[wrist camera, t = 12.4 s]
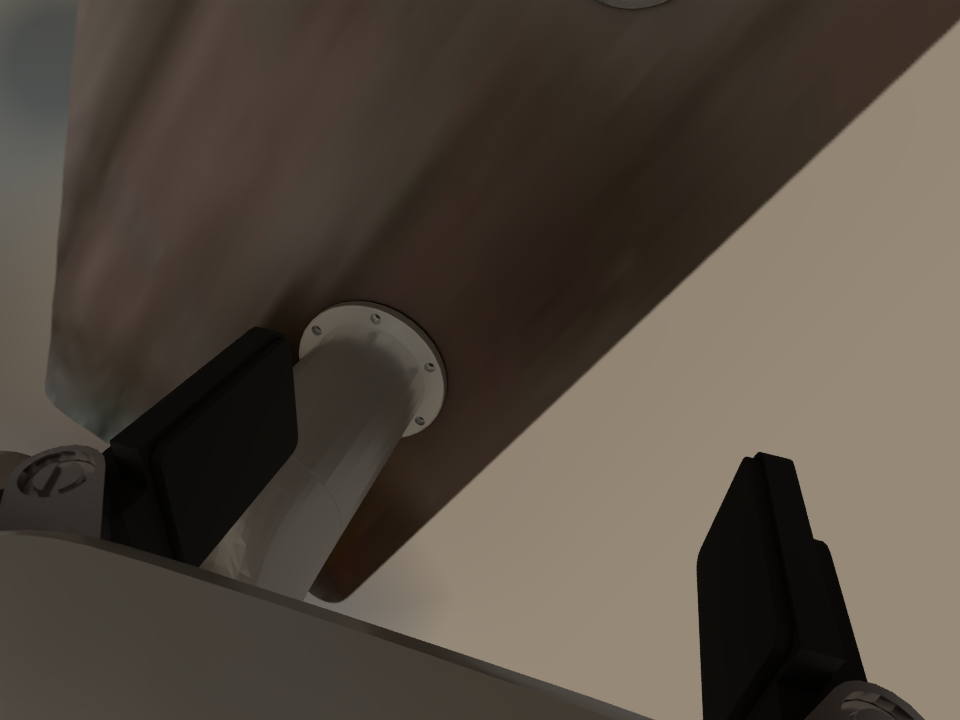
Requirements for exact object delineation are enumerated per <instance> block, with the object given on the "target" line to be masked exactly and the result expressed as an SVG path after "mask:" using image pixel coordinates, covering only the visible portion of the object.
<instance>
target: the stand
mask: <svg viewBox="0 0 960 720" xmlns="http://www.w3.org/2000/svg"><path fill="white" fill-rule="evenodd" d="M598 1H600V2H602V3H604V4H607V5H610V6H613V7H619V8H629V9H637V8H644V7H650V6H654V5H657V4H661V3H663V2H665V1H668V0H598Z"/></svg>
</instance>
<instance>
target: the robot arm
mask: <svg viewBox="0 0 960 720" xmlns="http://www.w3.org/2000/svg"><path fill="white" fill-rule="evenodd" d="M446 391H447V378H446V370H445V367H444V364H443V361H442V358H441V356H440V354H439V352H438V351H437V349H436V347H435V345H434V344H433V342H432V341H431V340H430V339H429V337H428V336H427V335H426V334H425V332H424V331H423V330H422V329H420V328H419V327H418V326H417V325H416V324H415V323H414V322H413V321H411V320H410V319H408V318H407V317H405V316H404V315H402V314H401V313H399V312H397V311H395V310H393V309H391V308H388V307H386V306H383V305H380V304H376V303H372V302H364V301H349V302H342V303H339V304H336V305H333V306H330V307H329V308H327V309H325V310H324V311H322V312H321V313H319V314H318V315H317V316H316V317H315V318H314V319H313V320H312V321H311V322H310V323H309V325H308V326H307V328H306V329H305V330H304V333H303V335H302V338H301V341H300V347H299V362H298V363H297V364H296V365H295V366H294V367H293V362H292V349H291V344H290V343H289V342H288V341H285V337H284V335H283V334H282V333H280V332H277V331H273V330H269V329H265V328H261V327H253V328H252V329H250V330H249V331H247V332H246V333H245V334H244V335H242V336H241V337H240V338H239V339H237V340H236V341H235V342H234V343H232V344H231V345H230V346H229V347H227V348H226V349H225V350H224V351H222V352H221V353H220V354H219V355H217V356H216V357H215V358H213V359H212V360H211V361H210V362H208V363H207V364H206V365H205V366H203V367H202V368H201V369H200V370H198V371H197V372H196V373H195V374H193V375H192V376H191V377H190V378H188V379H187V380H186V381H184V382H183V383H182V384H181V385H179V386H178V387H177V388H176V389H174V390H173V391H172V392H171V393H169V394H168V395H167V396H166V397H164V398H163V399H162V400H161V401H159V402H158V403H157V404H155V405H154V406H153V407H152V408H150V409H149V410H148V411H147V412H145V413H144V414H143V415H142V416H140V417H139V418H138V419H137V420H135V421H134V422H133V423H132V424H130V425H129V426H128V427H127V428H125V429H124V430H123V431H121V432H120V433H119V434H118V435H116V436H115V437H114V438H113V439H111V440H110V444H111V446H110V447H109V448H108V449H106V450H105V451H104V452H103V453H100V452H99V451H98V450H97V449H94V448H91V447H89V446H82V445H68V446H60V447H56V448H52V449H48V450H45V451H43V452H40V453H38V454H36V455H34V456H29V455H26V454H22V453H18V452H11V451H0V720H653V719H651V718H648V717H645V716H642V715H640V714H637V713H634V712H631V711H628V710H625V709H623V708H620V707H617V706H614V705H612V704H609V703H606V702H603V701H600V700H597V699H594V698H592V697H589V696H586V695H582V694H580V693H577V692H574V691H571V690H568V689H565V688H562V687H559V686H556V685H553V684H550V683H547V682H544V681H541V680H538V679H535V678H532V677H529V676H526V675H523V674H520V673H517V672H514V671H511V670H508V669H505V668H502V667H500V666H496V665H494V664H490V663H488V662H485V661H482V660H478V659H476V658H472V657H469V656H467V655H464V654H461V653H458V652H455V651H452V650H448V649H446V648H443V647H440V646H437V645H434V644H431V643H427V642H425V641H421V640H418V639H416V638H412V637H409V636H406V635H403V634H400V633H397V632H394V631H391V630H388V629H385V628H382V627H379V626H376V625H373V624H370V623H367V622H364V621H361V620H358V619H355V618H352V617H349V616H346V615H343V614H339V613H337V612H334V611H331V610H328V609H325V608H321V607H318V606H315V605H312V604H309V603H306V602H303V600H304V598H305V596H306V594H307V592H308V591H309V589H310V587H311V585H312V584H313V582H314V580H315V578H316V577H317V575H318V573H319V572H320V570H321V568H322V567H323V565H324V563H325V562H326V560H327V558H328V557H329V555H330V553H331V552H332V550H333V548H334V547H335V545H336V543H337V542H338V540H339V538H340V537H341V535H342V533H343V532H344V530H345V528H346V527H347V525H348V524H349V522H350V520H351V519H352V517H353V515H354V514H355V512H356V510H357V509H358V507H359V506H360V504H361V502H362V501H363V499H364V497H365V496H366V494H367V492H368V491H369V489H370V488H371V486H372V484H373V483H374V481H375V479H376V478H377V476H378V474H379V473H380V471H381V470H382V468H383V466H384V465H385V463H386V461H387V460H388V458H389V456H390V455H391V453H392V452H393V450H394V448H395V447H396V445H397V443H398V442H399V440H400V438H402V437H407V436H411V435H413V434H416V433H418V432H420V431H422V430H423V429H425V428H426V427H427V426H429V425H430V424H431V423H432V421H433V420H434V419H435V418H436V417H437V415H438V413H439V411H440V409H441V408H442V406H443V403H444V400H445V397H446ZM697 591H698V612H699V634H700V658H701V681H702V703H703V720H925V719H924V718H923V717H922V716H921V715H920V714H919V713H918V712H917V711H915V709H913V707H912V706H911V705H909V704H908V703H907V702H905V701H904V700H903V699H901V698H899V697H898V696H897V695H896V694H894V693H893V692H891V691H889V690H887V689H884V688H883V687H880V686H878V685H876V684H873V683H869V682H867V679H866V675H865V672H864V668H863V665H862V662H861V658H860V654H859V651H858V648H857V644H856V640H855V637H854V633H853V630H852V626H851V623H850V619H849V616H848V613H847V609H846V605H845V602H844V599H843V595H842V591H841V588H840V585H839V581H838V577H837V574H836V571H835V567H834V563H833V560H832V556H831V553H830V551H829V548H828V546H827V545H826V544H825V543H824V542H823V541H819V540H816V539H814V538H813V535H812V531H811V527H810V523H809V519H808V516H807V512H806V508H805V504H804V500H803V497H802V493H801V489H800V485H799V481H798V477H797V474H796V470H795V466H794V463H793V461H792V460H790V459H787V458H783V457H779V456H774V455H770V454H766V453H762V452H758V453H757V454H756V455H755V456H754V458H751V457H745V458H744V459H743V460H742V462H741V464H740V466H739V468H738V470H737V473H736V475H735V477H734V479H733V481H732V483H731V485H730V488H729V489H728V492H727V494H726V496H725V498H724V500H723V502H722V505H721V507H720V509H719V511H718V513H717V515H716V517H715V519H714V521H713V523H712V526H711V528H710V530H709V532H708V534H707V536H706V539H705V541H704V543H703V545H702V547H701V549H700V552H699V555H698V559H697Z"/></svg>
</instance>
